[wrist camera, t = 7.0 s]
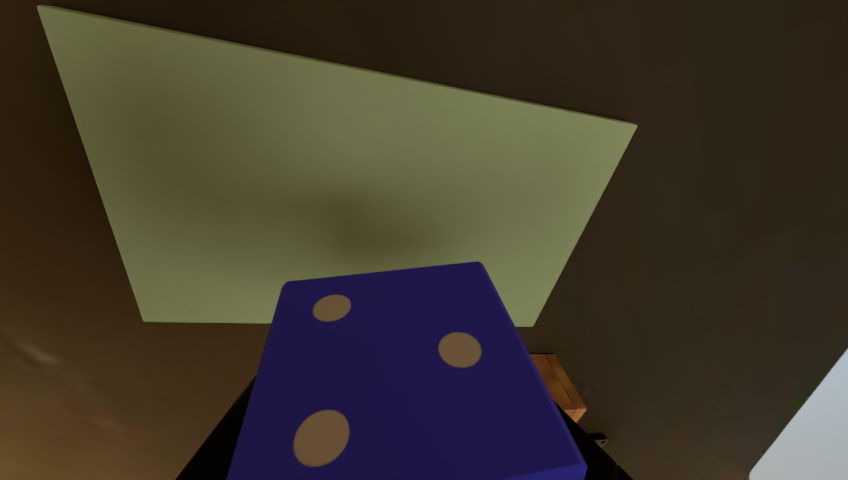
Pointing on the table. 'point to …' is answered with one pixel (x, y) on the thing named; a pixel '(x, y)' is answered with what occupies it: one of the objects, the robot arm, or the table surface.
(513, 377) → the die
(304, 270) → the mat
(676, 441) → the table surface
